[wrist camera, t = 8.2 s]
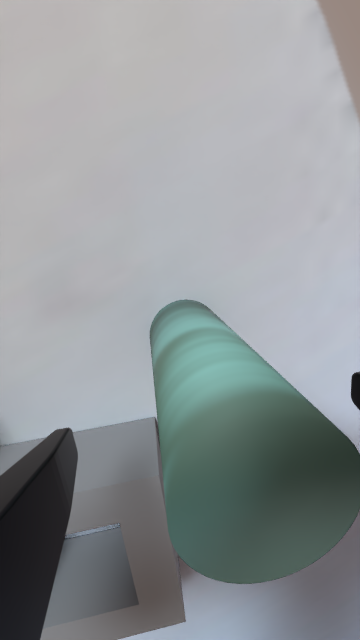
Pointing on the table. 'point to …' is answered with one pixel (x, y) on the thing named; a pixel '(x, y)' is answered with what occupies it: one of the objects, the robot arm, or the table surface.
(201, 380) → the dowel
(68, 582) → the socket block
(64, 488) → the robot arm
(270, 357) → the table surface
